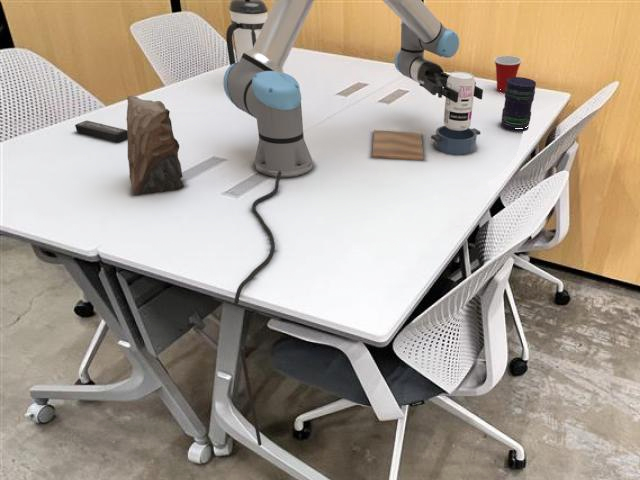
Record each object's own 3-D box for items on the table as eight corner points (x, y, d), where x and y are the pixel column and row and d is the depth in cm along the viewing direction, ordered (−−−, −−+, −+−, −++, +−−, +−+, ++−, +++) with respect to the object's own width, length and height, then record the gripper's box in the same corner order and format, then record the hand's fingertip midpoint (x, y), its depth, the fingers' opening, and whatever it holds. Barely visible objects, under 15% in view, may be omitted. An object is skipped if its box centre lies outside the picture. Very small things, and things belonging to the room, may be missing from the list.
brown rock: (138, 173, 151) (117, 93, 138) (191, 172, 154) (174, 94, 141) (131, 195, 141) (107, 112, 129) (187, 193, 145) (169, 112, 132)
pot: (488, 150, 183) (489, 135, 180) (444, 158, 175) (445, 143, 172) (465, 135, 191) (466, 122, 188) (422, 143, 183) (423, 129, 180)
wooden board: (423, 160, 173) (423, 157, 172) (372, 157, 171) (372, 155, 170) (420, 135, 188) (421, 132, 187) (374, 132, 186) (374, 130, 186)
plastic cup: (485, 87, 234) (489, 55, 226) (508, 85, 238) (513, 54, 230) (498, 95, 227) (502, 63, 219) (522, 94, 231) (527, 62, 223)
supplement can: (454, 119, 183) (459, 69, 174) (475, 127, 180) (481, 76, 170) (438, 125, 178) (442, 73, 169) (458, 133, 174) (464, 81, 165)
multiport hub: (118, 143, 164) (115, 134, 162) (76, 132, 167) (74, 124, 165) (129, 137, 167) (127, 129, 166) (88, 128, 170) (86, 120, 169)
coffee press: (232, 77, 217) (218, -16, 198) (276, 77, 221) (267, -14, 202) (233, 92, 204) (219, -6, 185) (280, 91, 209) (271, -4, 190)
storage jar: (531, 124, 204) (538, 80, 195) (526, 133, 197) (534, 88, 188) (503, 119, 206) (509, 75, 196) (497, 128, 199) (504, 82, 189)
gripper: (453, 83, 191) (495, 105, 177) (398, 89, 180) (438, 113, 167) (455, 58, 186) (499, 79, 172) (399, 63, 176) (440, 85, 162)
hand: (469, 96), depth 169 cm, fingers closed on supplement can, 8 cm apart
